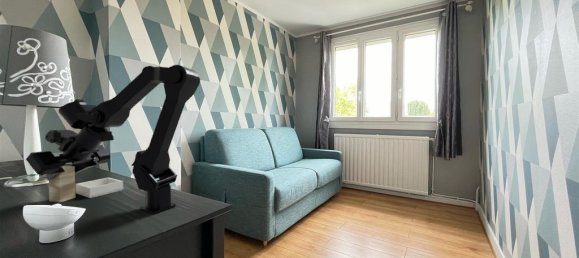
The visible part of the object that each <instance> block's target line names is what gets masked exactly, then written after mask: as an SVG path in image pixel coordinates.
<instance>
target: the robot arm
mask: <svg viewBox="0 0 579 258" xmlns="http://www.w3.org/2000/svg"><path fill="white" fill-rule="evenodd" d="M200 83H201V77H200V75H199V74H198V72H197V71H196V70H194V69H191V68H188V67H186V66H183V65H180V64H173V65H171V66H169V67H167V66H152V65H147V66H144V67H143V68H142V70H141V72H140V73H139V74H138V75H136V76H135V78H134V79H132V80H131V81H130V82H129V83H128V84H127V85H125V87H124V88H122V89H121V90H120V91H119V92H118V93H117V94H115V96H114V97H112V98H111V99H108V100H104V101H102V102H100V103H98V104H96V105H95V106H94V107H92V108H90V107H89V106H88V104H87V102H85V100H84V99H78V98H77V99H76V98H75V99H74V100H73V101H71V102H66V103H65V104H64V105H61V106H60V107H59V108H58V113H59V114H60V116H61V117H62V118H63V119H64V120H65V122H66V123H68V125H69V126H70V127H71V128H72V129H74V130H80V131H78V133H77V132H75V131H74V130H71V129H55V130H53V129H51V130H49V131H48V132H47V133H46V134H45V136H44V139H45V141H47V142H49V143H50V144H56V145H58V146H59V147H58V148H57V150H58V151H59V152H61V153H59V155H58V156H55V155H54V153H52V151H50V150H43V151H34V152H30V153H29V154H28V156H27V157H26V158H25V160H26V162H27V163H28V164H29V166H30V167H31V168H32V169H33V170H34V172H35V173H36V174H37V175H38V176H39V175H40V176H45V175H46V176H45V178H46V180H47V181H49V180H51V179H53V178H55V177H57V176H58V175H60V174H62V173H63V172H65V170H64V169H63V167H64V166H66V165H68V164H71V166H74V167H75V174H78V173H80V172H82V171H85V170H87V169H89V168H90V169H91V168H92V167H95V166H97V165H98V164H99V165H101V164H107V163H108V162H109V161H110V160H111V154H110V153H109V152H108V150H107V149H106V148H105V147H104V146H103V144H101V143H102V142H111V141H114V139H115V137H114V135H113V131H110V130H109V129H108V128H119V127H122V126H123V125H124V124H125V122H126V121H127V119H129V117H130V115H131V113H130V112H131V110H132V109H133V108H134V107H135V106H136V105H137V104H138V103H140V102H141V101H142V100H143V99H144V98H145V97H146V96H148V94H150V93H151V92H152V91H154V89H155V88H157V87H158V85H160V84H163V89H164V93H165V97H164V98H165V99H164V101H163V105H162V106H161V110H160V113H159V115H158V119H157V122H156V124H155V128H154V130H153V133H152V135H151V139H150V142H149V144H148V147H146V148H145V150H139V151H137V152H136V153H135V156H134V160H133V162H132V163H131V167H132V174H133V177H134V179H135V183H136V185H137V188H138V190H139V191H140V190H142V191H143V192H144V193H145V196H144V197H145V205H143V206H140V207H139V209H140V210H141V211H145V212H147V213H150V214H158V213H161V212H163V211H165V210H170V209H172V208H175V207H177V204H176V203H174V202H172V185H170V184H172V183H176V181H177V177H178V174H177V173H176V172H175V171H174V170H173V169H172V168H171V166H170V163H171V158H170V154H169V150H170V146H171V145H172V141H173V138H174V135H175V133H176V131H177V128H178V125H179V121H180V119H181V116H182V113H183V111H184V108H185V106H186V105H185V104H186V103H187V102H188V101H189V100H191V98H192V97H193V96H194V95H195V93H196V91H197V90H198V87H199V86H200ZM96 158H97V159H98V160H97V161H96Z"/></svg>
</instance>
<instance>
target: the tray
mask: <svg viewBox="0 0 579 258" xmlns="http://www.w3.org/2000/svg"><path fill="white" fill-rule="evenodd" d="M121 191H124V181H123V180H120V179H116V178H111V177H105V178H99V179H94V180H89V181H84V182H78V183H75V194H77V195H80V196H82V197H83V196H84V197H86V198H90V199H92V198H96V197H101V196H105V195H107V194H113V193H117V192H121Z"/></svg>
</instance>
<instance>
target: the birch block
mask: <svg viewBox="0 0 579 258" xmlns="http://www.w3.org/2000/svg"><path fill="white" fill-rule="evenodd" d="M63 169H64V170H65V172H63V173H62V174H60V175H58V176H57V177H55V178H53V179H51V180H48V197H49V198H48V199H49V201H48V202H53V203H61V202H66V201H69V200H73V199H75V198H76V177H75V175H76V173H75V167H74V166H72V165H65V166H64V167H63Z"/></svg>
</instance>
